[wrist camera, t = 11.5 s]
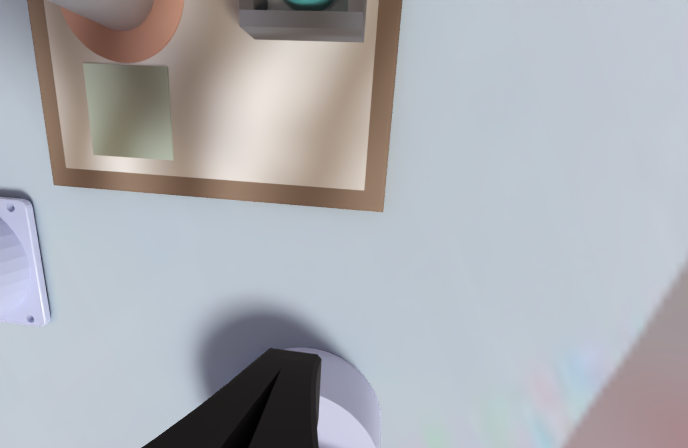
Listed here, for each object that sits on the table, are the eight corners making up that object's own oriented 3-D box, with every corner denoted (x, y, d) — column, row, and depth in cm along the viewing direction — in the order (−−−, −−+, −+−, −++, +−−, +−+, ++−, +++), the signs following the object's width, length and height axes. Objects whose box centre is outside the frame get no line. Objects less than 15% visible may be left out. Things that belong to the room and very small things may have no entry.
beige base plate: (64, 183, 18) (19, 188, 16) (23, -116, 15) (-40, -163, 13) (383, 210, 16) (383, 218, 14) (413, -126, 13) (419, -182, 11)
